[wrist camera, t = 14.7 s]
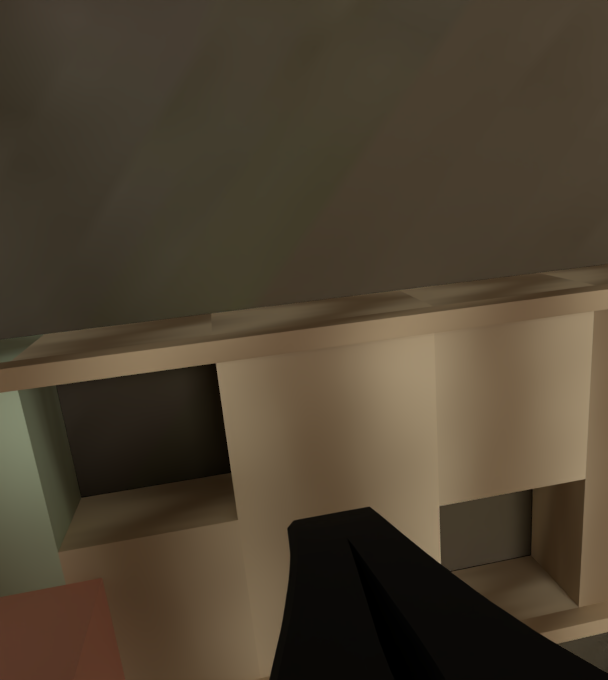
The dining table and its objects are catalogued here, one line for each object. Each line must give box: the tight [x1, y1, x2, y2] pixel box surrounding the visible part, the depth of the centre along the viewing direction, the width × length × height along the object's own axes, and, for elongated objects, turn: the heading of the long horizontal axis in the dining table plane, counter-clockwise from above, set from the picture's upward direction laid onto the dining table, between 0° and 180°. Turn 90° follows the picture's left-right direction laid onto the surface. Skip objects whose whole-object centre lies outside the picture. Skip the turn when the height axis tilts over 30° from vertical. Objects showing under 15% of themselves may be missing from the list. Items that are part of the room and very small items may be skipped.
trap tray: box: [0, 264, 608, 680], centre depth 17 cm, size 24×12×5 cm, turn 95°
